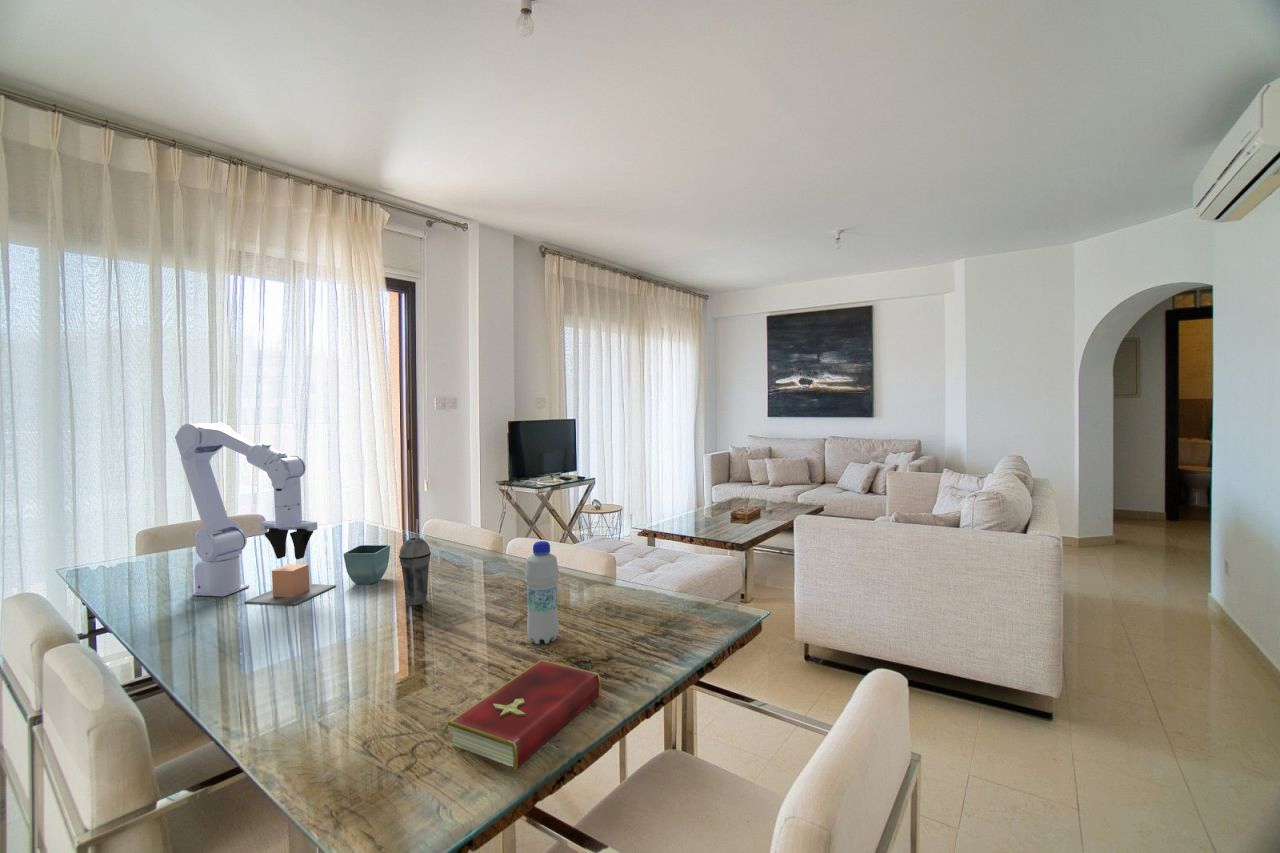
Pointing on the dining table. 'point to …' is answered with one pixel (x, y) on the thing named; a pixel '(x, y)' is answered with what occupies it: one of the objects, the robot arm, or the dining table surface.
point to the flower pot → (367, 563)
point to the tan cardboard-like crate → (290, 580)
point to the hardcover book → (525, 712)
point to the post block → (293, 601)
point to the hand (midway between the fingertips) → (290, 558)
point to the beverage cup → (415, 568)
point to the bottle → (542, 594)
